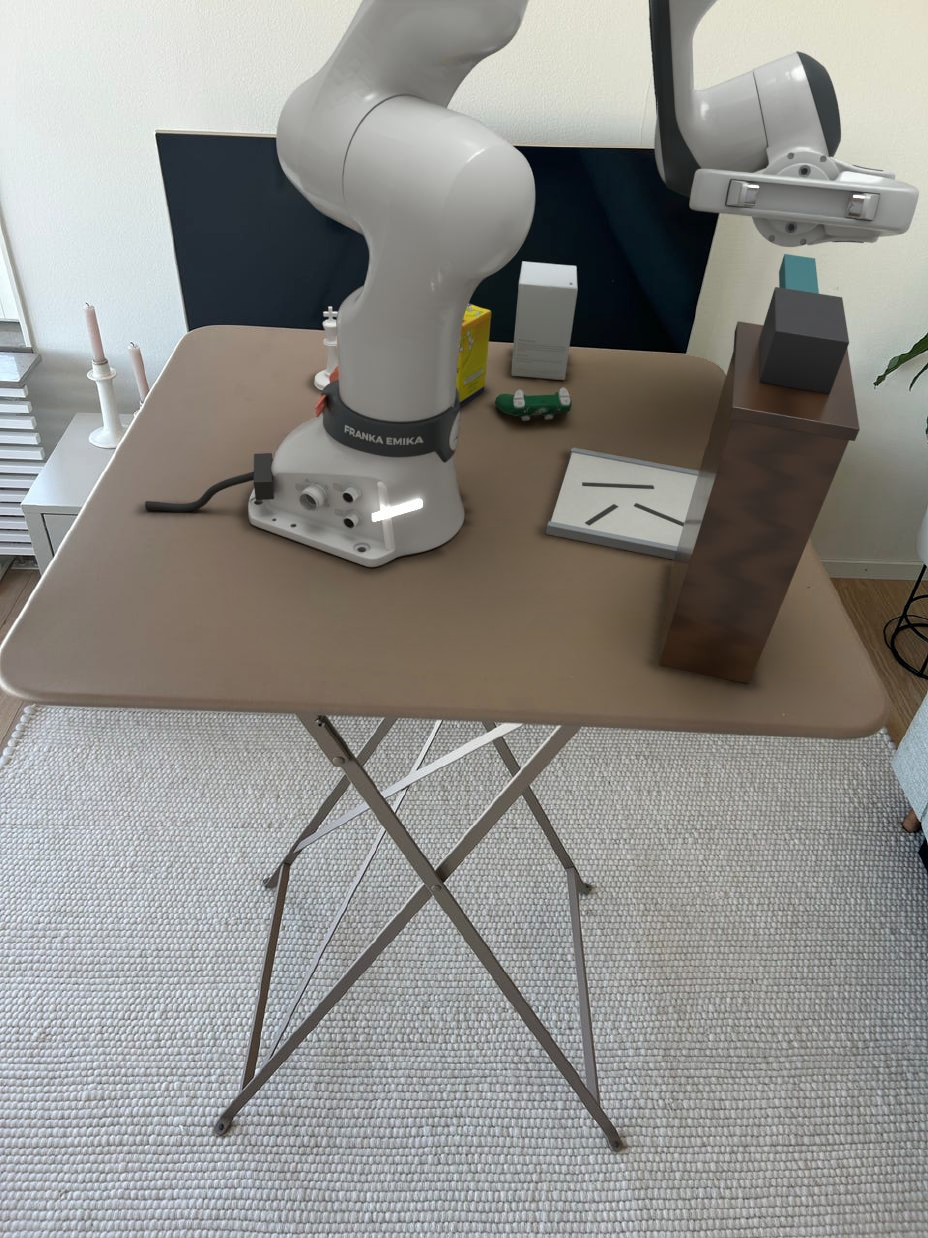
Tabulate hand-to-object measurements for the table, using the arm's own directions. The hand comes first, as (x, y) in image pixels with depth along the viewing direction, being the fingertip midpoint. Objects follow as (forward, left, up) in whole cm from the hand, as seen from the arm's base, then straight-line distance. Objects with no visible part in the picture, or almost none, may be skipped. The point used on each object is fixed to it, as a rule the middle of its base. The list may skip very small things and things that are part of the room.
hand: (803, 199), depth 78 cm
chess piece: (-49, +9, -32) cm, 59 cm away
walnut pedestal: (0, -22, -32) cm, 38 cm away
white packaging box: (-25, +23, -32) cm, 46 cm away
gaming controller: (-23, +10, -32) cm, 40 cm away
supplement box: (-34, +12, -32) cm, 48 cm away
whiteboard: (-8, -5, -32) cm, 33 cm away
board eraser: (0, -15, -6) cm, 16 cm away
